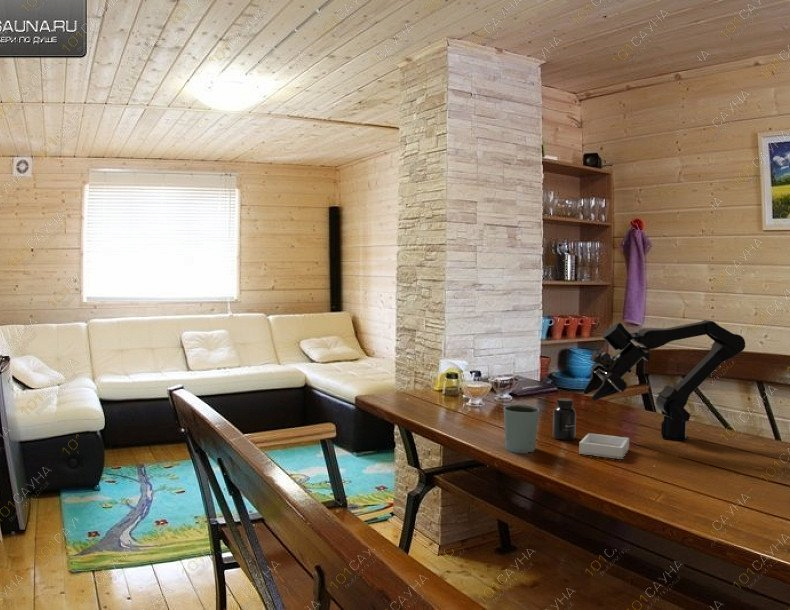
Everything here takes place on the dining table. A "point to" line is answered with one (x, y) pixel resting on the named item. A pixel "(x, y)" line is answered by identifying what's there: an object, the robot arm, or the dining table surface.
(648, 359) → the robot arm
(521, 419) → the grey-green cup
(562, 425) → the supplement bottle
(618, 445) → the tray
